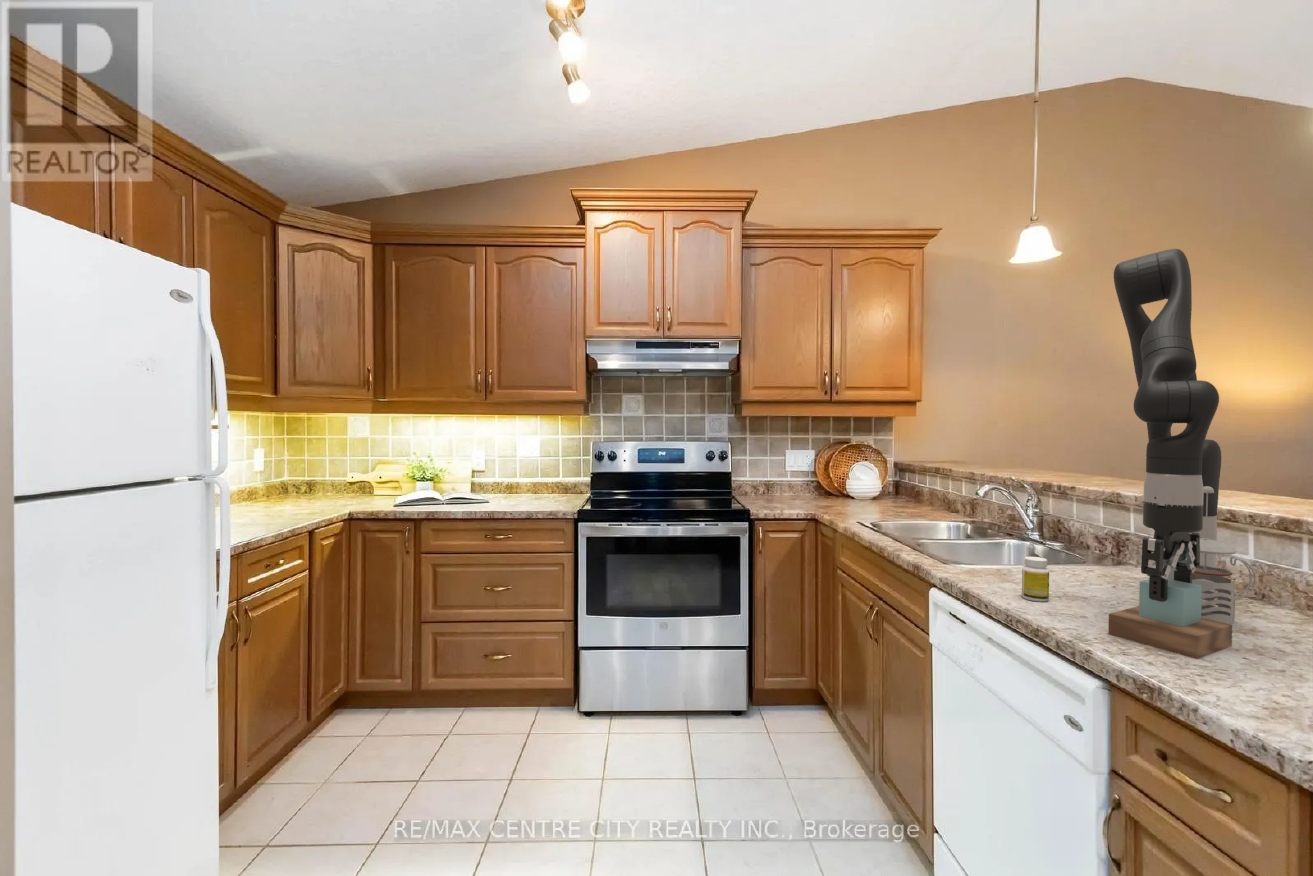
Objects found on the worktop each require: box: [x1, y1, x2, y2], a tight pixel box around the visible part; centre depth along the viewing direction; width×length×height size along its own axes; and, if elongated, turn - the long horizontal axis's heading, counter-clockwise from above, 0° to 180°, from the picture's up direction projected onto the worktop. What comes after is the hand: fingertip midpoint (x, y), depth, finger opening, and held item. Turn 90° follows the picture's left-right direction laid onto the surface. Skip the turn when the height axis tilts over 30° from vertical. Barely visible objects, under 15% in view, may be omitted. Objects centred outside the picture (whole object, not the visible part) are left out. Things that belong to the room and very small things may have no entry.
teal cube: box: [1138, 578, 1202, 627], centre depth 98 cm, size 6×6×6 cm
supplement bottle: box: [1021, 556, 1050, 603], centre depth 121 cm, size 5×5×8 cm
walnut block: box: [1107, 605, 1233, 660], centre depth 98 cm, size 12×12×4 cm
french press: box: [1191, 486, 1257, 632], centre depth 107 cm, size 10×12×25 cm
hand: (1170, 596), depth 98 cm, fingers open, 8 cm apart
